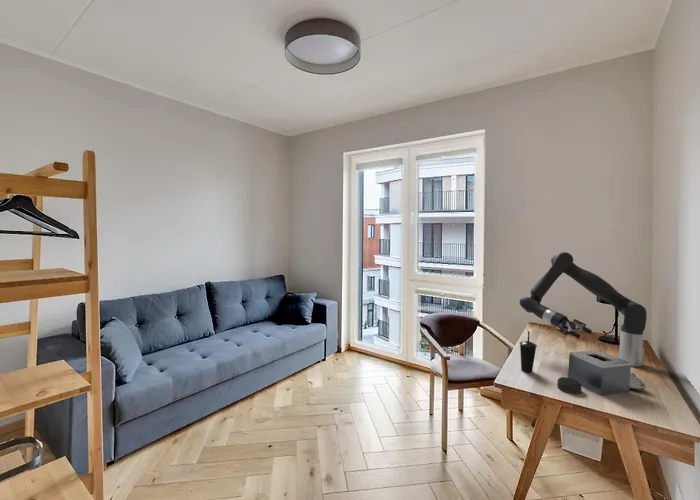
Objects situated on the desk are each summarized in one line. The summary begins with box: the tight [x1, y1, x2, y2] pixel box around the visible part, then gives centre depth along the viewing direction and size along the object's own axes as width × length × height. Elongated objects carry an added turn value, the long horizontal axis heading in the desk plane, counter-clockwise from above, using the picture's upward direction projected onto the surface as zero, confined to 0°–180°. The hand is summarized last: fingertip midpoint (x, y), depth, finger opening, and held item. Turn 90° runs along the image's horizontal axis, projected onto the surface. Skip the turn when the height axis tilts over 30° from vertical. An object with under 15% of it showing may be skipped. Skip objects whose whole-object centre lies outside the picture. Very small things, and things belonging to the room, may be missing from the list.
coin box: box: [567, 349, 632, 396], centre depth 153 cm, size 16×16×13 cm
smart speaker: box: [556, 376, 582, 394], centre depth 148 cm, size 9×9×4 cm
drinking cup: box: [519, 331, 538, 374], centre depth 167 cm, size 8×8×20 cm
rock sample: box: [629, 372, 646, 392], centre depth 151 cm, size 10×8×9 cm
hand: (585, 334), depth 163 cm, fingers open, 8 cm apart
